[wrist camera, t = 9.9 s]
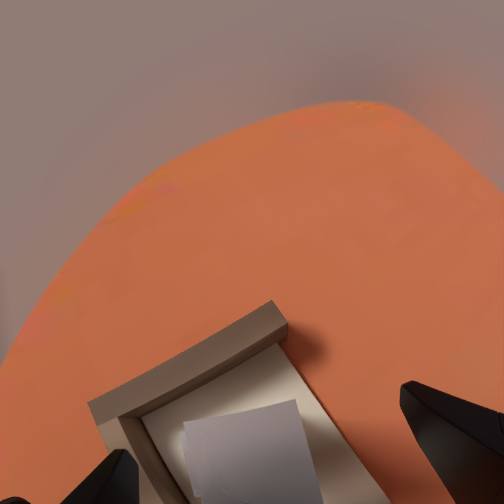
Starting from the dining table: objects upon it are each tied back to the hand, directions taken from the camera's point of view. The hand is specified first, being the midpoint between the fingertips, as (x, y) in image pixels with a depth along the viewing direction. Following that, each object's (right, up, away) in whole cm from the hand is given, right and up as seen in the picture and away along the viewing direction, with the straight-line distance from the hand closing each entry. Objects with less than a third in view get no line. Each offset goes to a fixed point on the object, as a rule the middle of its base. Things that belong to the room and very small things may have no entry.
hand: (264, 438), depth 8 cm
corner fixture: (-1, -6, +6) cm, 9 cm away
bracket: (-1, -6, +6) cm, 8 cm away
